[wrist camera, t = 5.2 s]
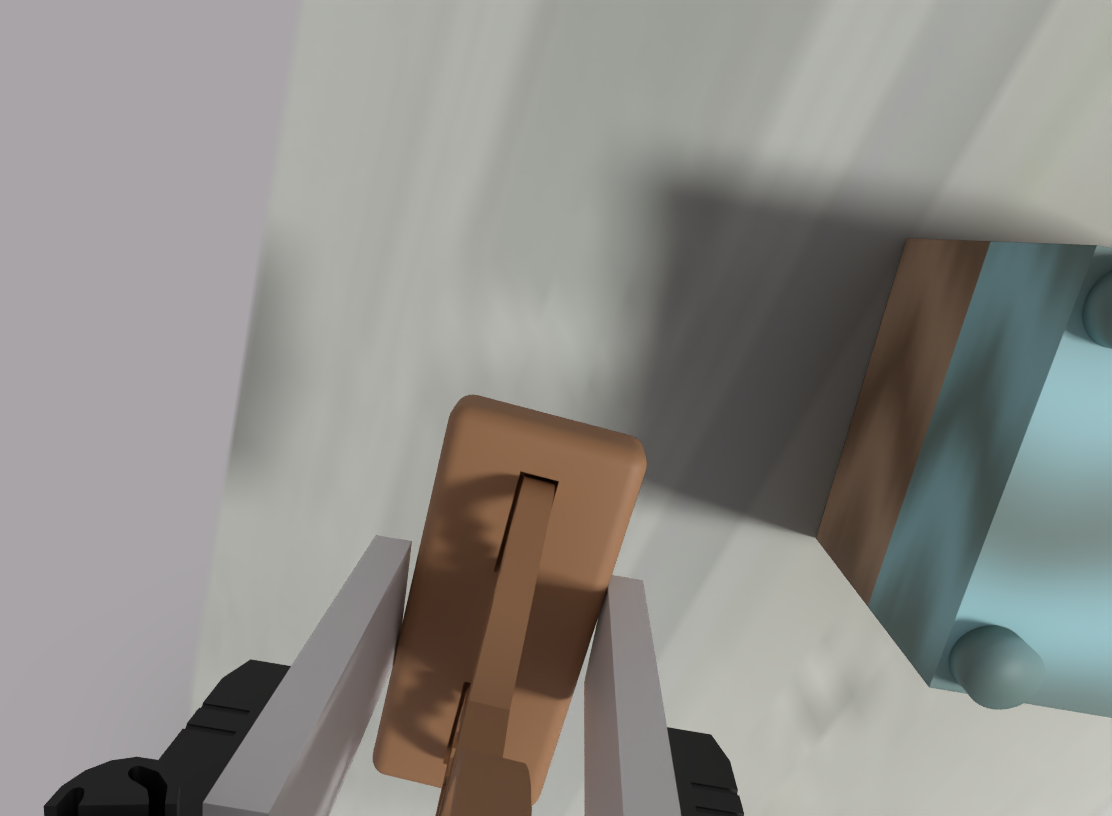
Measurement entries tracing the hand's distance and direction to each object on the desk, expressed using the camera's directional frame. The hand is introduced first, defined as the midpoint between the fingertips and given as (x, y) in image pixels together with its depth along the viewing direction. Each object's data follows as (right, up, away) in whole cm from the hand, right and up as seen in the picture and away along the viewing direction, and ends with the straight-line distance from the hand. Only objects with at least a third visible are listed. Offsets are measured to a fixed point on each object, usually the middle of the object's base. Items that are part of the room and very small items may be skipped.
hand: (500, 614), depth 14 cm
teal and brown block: (+19, +4, +11) cm, 22 cm away
